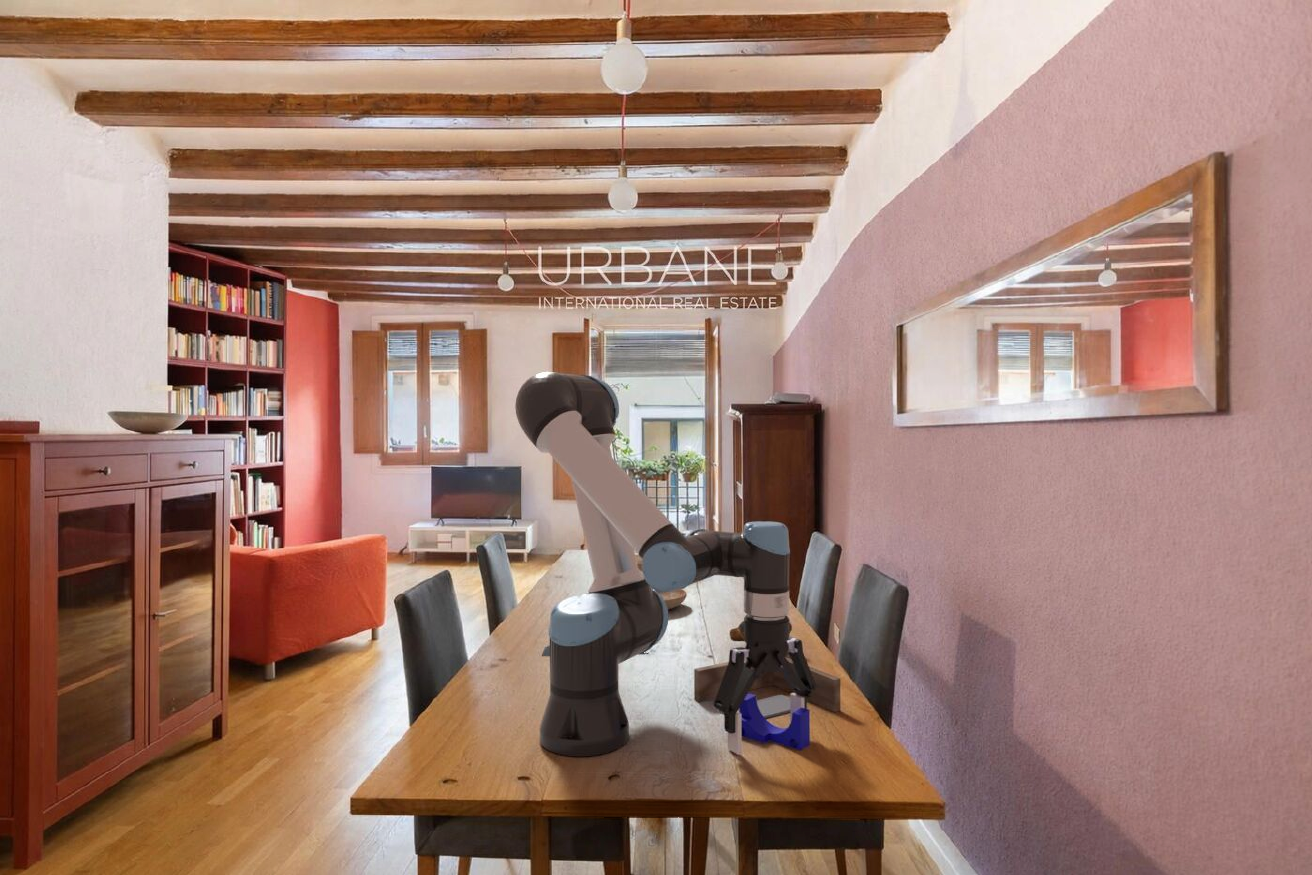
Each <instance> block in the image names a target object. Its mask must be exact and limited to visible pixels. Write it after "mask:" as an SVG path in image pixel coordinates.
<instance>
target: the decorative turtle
mask: <svg viewBox="0 0 1312 875" xmlns="http://www.w3.org/2000/svg"><path fill="white" fill-rule="evenodd" d="M792 625H793V624H792V623H791V622H790V621H789V635H790V634H791V632H792V630H793V627H792ZM729 638H730V640H731V641H732V642H745V643H746V639H745V636H744V620H743V621H742V622H740V624H738V627H735V628H731V629H730V630H729Z"/></svg>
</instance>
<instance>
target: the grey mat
mask: <svg viewBox="0 0 1312 875" xmlns="http://www.w3.org/2000/svg"><path fill="white" fill-rule="evenodd" d="M756 701H757V705H758V708H759V710H760V712H761V714H762V715H763V717H764V718H765V719H767V718H768V719H769V718H772V717H776V716H779V715H783V714H786V713H790V697H789V696H786V695H783V694H781V693H780V694H777V695H773V696H769V697H765V698H764V697H763V698H760V699H756ZM718 712H719V713H721V714H723V715H724V712H722V711H720V710H718ZM737 712H739V709H738V711H737Z"/></svg>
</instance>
